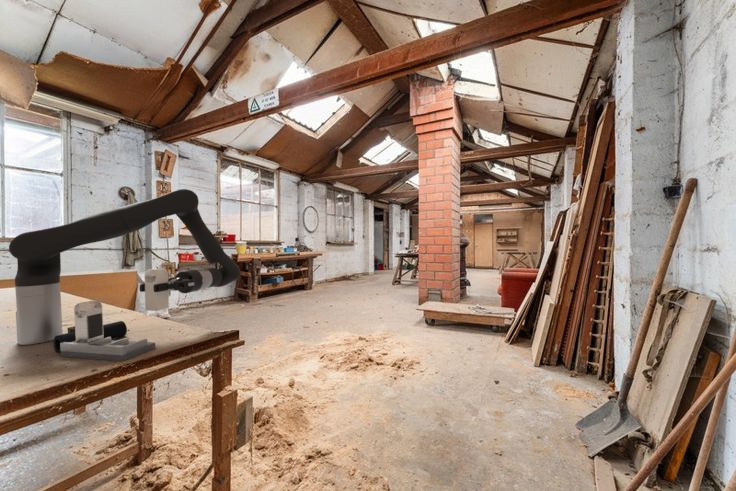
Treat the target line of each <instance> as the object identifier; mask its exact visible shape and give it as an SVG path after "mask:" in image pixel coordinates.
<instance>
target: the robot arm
mask: <svg viewBox="0 0 736 491" xmlns="http://www.w3.org/2000/svg"><path fill="white" fill-rule="evenodd" d="M199 203H200V202H199V196H198V195H197V194H196V192H194V191H193V190H191V189H187V188H180V189H176V190H173V191H170V192H168V193H165V194H162V195H160V196H158V197H155V198H151V199H148V200H143V201H139V202H135V203H131V204H127V205H124V206H120V207H119V206H118V207H116V208H112V209H108V210H104V211H102V212H98V213H95V214H91V215H89V216H86V217H83V218H80V219H78V220H74V221H72V222H69V223H66V224H61V225H59V226H53V227H47V228H43V229H38V230H31V231H26V232H22V233H20V234H17V235H16V236H15V237H14V238H12V240H11V241H10V243H9V245H8V251H9V253H10V255H11V256H12V257H13V258H15V259H16V260H17V270H16V275H15V277H14V287H15V304H16V312H15V322H16V324H15V325H16V339H17V340H16V341H17V343H18V345H20V346H23V345H24V346H26V345H36V344H41V343H46V342H51V341H54V338H55V336H57V335H62V334H64V331H63V314H62V313H63V312H62V297H61V296H62V295H61V279H60V278H61V271H62V266H61V261H62V260H61V253H63V252H66V251H68V250H72V249H74V248H77V247H81V246H84V245H89V244H95V243H99V242H103V241H108V240H112V239H117V238H118V237H119V238H120V237H123V236H126V235H129V234H131V233H135V232H137V231H140V230H141V229H144V228H145V227H147V226H150V225H151V224H153V223H154V222H156V221H158V220H160V219H163V218H165V217H166V218H167V217H170V216H173V215H176V217H178V218H179V220H180V221H181V222H182V223H183V225H185V227H186V229H187V230H188V231H189V233H190V234H191V236H192V238H193V239H194V242H195V243H196V245H197V246H198V248H199V250H200V252H201V253H202V255H203V258H204V259H205V260H206V262H207V263H208V264H209V265H215V264H219V265H221V267H219V268H217V267H208V268H207V267H206V268H192V269H187V270H186V269H185V270H180V271H179V272H177V273H176V275H175V276H168V282H167V283H161V284H155V285H154V292H161V291H166V290H167V291H168V292H171V291H174V292H175V291H176V292H179V293H181V294H190V293H193V292H199V291H203V290H205V289H209V288H213V287H214V288H221V287H222V288H223V287H225V286H228V285H229V284H231V283H233V282H235V281H236V280H237V281H238V279H240V277H241V274H242V271H241V269H240V267H239V265H238V264H237V263H236V262H235V261H234V260H233V259H232V258H231V257H230V256H229V255H228V254H227V253H226V252H225V251H224V249H223V247H222V245H221V243H220V242H219V241H218V238H217V237H216V236H215V234H213V232H212V231H211V230H210V229H209V227H208V226H207V224H206V223H205V222H204V220H203V218H202V216H201V214H200V211H199V208H198V207H199ZM139 292H140V293H141V292H142V293H143V292H144V293H145V283H141V284H139Z"/></svg>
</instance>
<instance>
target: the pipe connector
mask: <svg viewBox="0 0 736 491" xmlns="http://www.w3.org/2000/svg"><path fill="white" fill-rule="evenodd" d="M127 328H128V327H127V325H126V323H125V322H124V321H123V320H119V321H115V322H110V323H106V324H103V332H104V338H107V337H111V340H116V339H119V338H125V337H126V335H127V331H128V329H127ZM73 341H76V335H75V325H73V326H70V327H67V333H66V332H65V333H63V334H62V335H57V336H55V338H54V340H52V342H53V348H54V351H55V353H57V354H59V355H61V349H60V343H63V342H73Z"/></svg>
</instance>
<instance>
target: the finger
mask: <svg viewBox="0 0 736 491" xmlns="http://www.w3.org/2000/svg"><path fill="white" fill-rule="evenodd" d="M168 278H169V272H168V270H167V269H166V268H165V267H156V268H149V269H147V270H145V272H144V284H145V292H144V305H145V306H144V307H145V308H144V309H145V311H154V312H157V311H161V310H166V309H168V308H170V306H169V297H170V296H169V291H167V290H166V291H161V292H154V285H155V284H161V283H167V282H168Z"/></svg>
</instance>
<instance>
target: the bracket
mask: <svg viewBox="0 0 736 491" xmlns="http://www.w3.org/2000/svg"><path fill="white" fill-rule="evenodd" d="M73 311H74V312H73V313H74V326H75V335H76V341H73V342H63V343H60V349H61V354H60V357H63V358H75V359H88V360H90V359H91V360H99V361H101V360H102V361H103V360H104V361H113V362H115V361H116V362H124V361H127V360H130V359H132V358H134V357H137V356H140V355H142V354H144V353H148V352H149V351H152V350H153V349H156V342H151V341H148V338H143V339H140V340H138V341H134V340H133V341H132V340H129V337H123V338H121V339H118V340H116V339H113V340H111V337H107V338H104V332H103V325H104V317H103V305H102V303H101V301H99V300H98V299H94V300H89V301H84V302H79V303H76V305H75V306H74V309H73Z"/></svg>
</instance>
